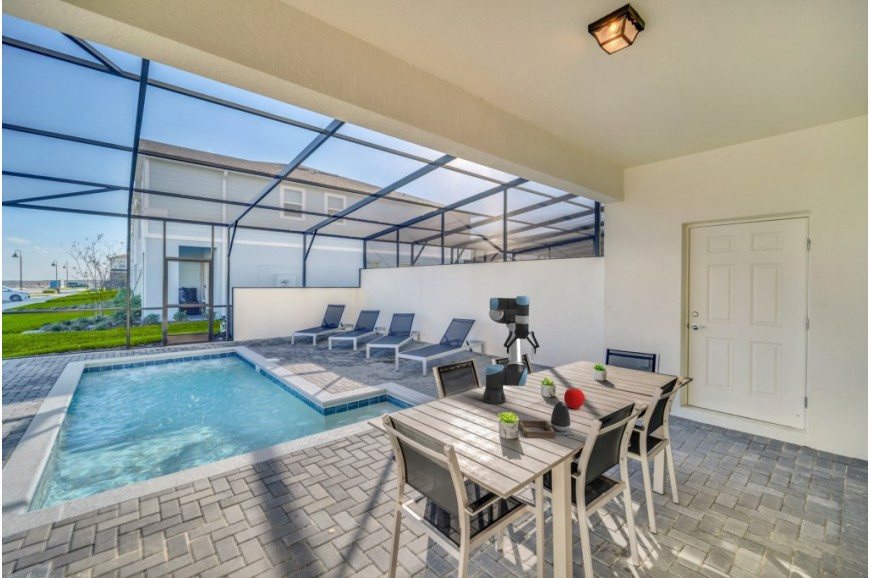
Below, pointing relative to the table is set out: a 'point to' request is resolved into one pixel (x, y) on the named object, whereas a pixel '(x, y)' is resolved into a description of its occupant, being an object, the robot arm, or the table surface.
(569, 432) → the rubber mat
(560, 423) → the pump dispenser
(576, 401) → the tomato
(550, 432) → the frame
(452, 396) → the table surface
